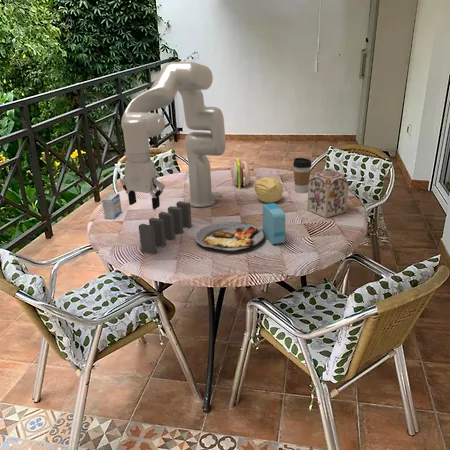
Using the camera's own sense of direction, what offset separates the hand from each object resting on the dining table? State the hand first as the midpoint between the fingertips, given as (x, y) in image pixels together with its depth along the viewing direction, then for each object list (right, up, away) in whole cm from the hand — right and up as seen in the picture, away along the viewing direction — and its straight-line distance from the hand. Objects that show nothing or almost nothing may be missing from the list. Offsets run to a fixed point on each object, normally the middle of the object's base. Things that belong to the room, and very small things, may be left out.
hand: (144, 205), depth 152 cm
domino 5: (+11, -7, +26) cm, 29 cm away
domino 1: (0, -16, +7) cm, 17 cm away
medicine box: (-20, -3, +39) cm, 44 cm away
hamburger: (+36, +13, +70) cm, 80 cm away
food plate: (+29, -12, +14) cm, 35 cm away
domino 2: (+3, -14, +11) cm, 18 cm away
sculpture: (+47, +4, +50) cm, 68 cm away
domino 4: (+9, -9, +21) cm, 25 cm away
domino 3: (+6, -12, +16) cm, 21 cm away
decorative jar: (+70, -1, +36) cm, 78 cm away
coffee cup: (+63, +9, +60) cm, 88 cm away
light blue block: (+45, -12, +13) cm, 48 cm away
